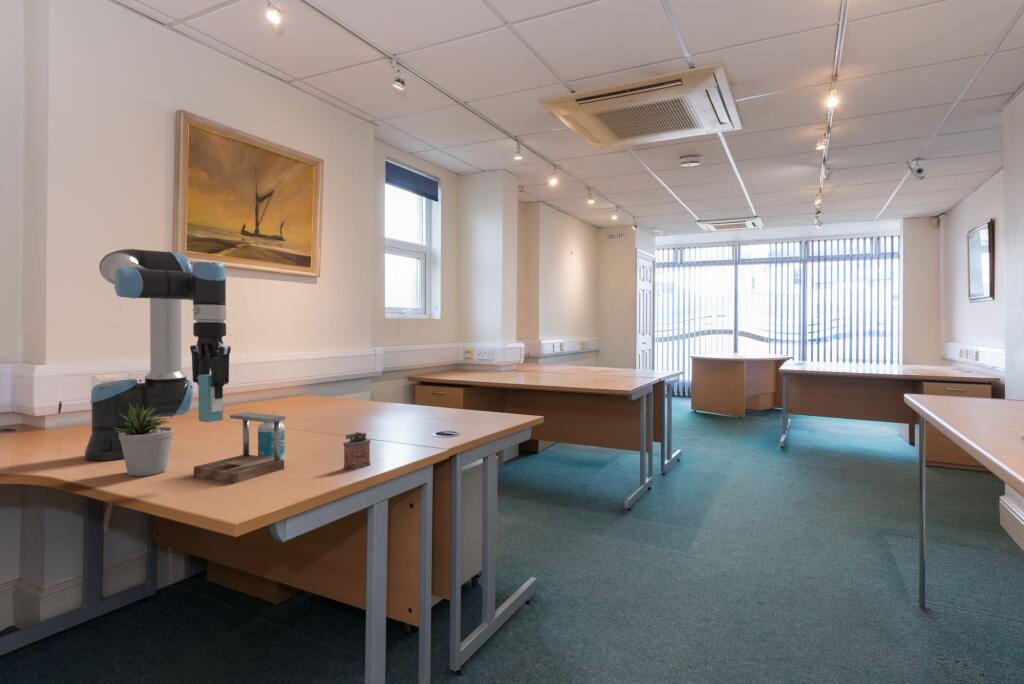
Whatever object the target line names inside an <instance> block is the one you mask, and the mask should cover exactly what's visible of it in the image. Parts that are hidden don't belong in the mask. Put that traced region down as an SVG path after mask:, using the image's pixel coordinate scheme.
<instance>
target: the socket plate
mask: <svg viewBox="0 0 1024 684" xmlns="http://www.w3.org/2000/svg"><path fill="white" fill-rule="evenodd" d="M284 469H285V460H284V459H283V460H280V461H274V458H267V457H261V456H258V455H253V454H249V456H243V454H241V455H237V456H232V457H229V458H224V459H221V460H217V461H212V462H207V463H205V464H200V465H196V466H193V477H197V478H202V479H203V478H204V479H208V480H213V481H217V482H223V483H229V484H236V483H240V482H244V481H247V480H251V479H255V478H258V477H261V476H265V475H269V474H271V473H275V472H278V471H281V470H284ZM264 474H265V475H264ZM254 477H255V478H254Z"/></svg>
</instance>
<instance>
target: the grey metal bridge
mask: <svg viewBox="0 0 1024 684" xmlns="http://www.w3.org/2000/svg"><path fill="white" fill-rule="evenodd" d="M229 419H233V420H240V421H241V420H242V455H243V456H249V455H250V421H251V422H259V423H264V422H266V423H271V422H274V461H280V423H281V421H285V420H286V415H275V414H267V413H257V412H251V411H250V412H249V411H248V412H247V411H244V412H239V413H233V414H229Z"/></svg>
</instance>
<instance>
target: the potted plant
mask: <svg viewBox="0 0 1024 684" xmlns="http://www.w3.org/2000/svg"><path fill="white" fill-rule="evenodd" d="M152 405H153V404H152ZM152 405H151V406H152ZM151 406H150V407H149V408H148V410H145V411H144V405H143V409H142V411H141V413H139V410H138V404H137V412H136V410H135V408H134V407H132V408H133V410H132V408H131V405H130V409H131V412H132V413H131V414H132V415H133V416H132V415H131V414H130V411H129V419H128V418H127V417H125V416H123V415H122V414H120V415H122V416H123V417H124V418H125V419H127V420H128V421H129V423H130V424H131V425H130V424H128V423H124V424H125V425H126V426H128V427H129V428H128V429H118V428H114V427H113V428H114V429H116V430H120V431H116V430H114V431H116V432H119V440H120V441H121V445H122V450H123V455H124V458H123V459H124V462H125V463H124V464H125V468H126V472H127V475H129V476H131V477H147V476H149V477H150V476H155V475H158V474H161V473H163V472H165V471H166V470H167V468H168V463H169V457H170V450H171V449H170V448H171V444H172V437H173V435H174V428H173V427H170V426H161V425H164V424H168V423H169V421H168V420H169V418H168V417H159V416H154V417H152V418H148V417H149V415H150V414H151V413H152V412H154V410H155V408H153V409H154V410H153V409H152V410H153V411H152V410H150V411H149V409H150V408H151ZM148 411H149V412H148ZM145 412H146V413H145ZM118 414H119V413H118ZM144 414H145V415H144ZM155 417H157V418H155Z"/></svg>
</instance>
